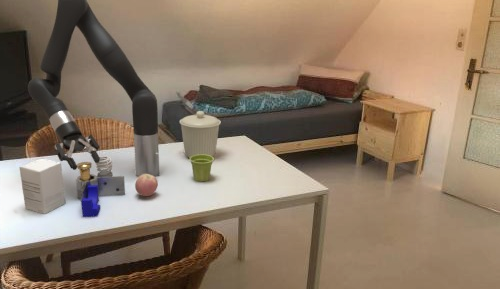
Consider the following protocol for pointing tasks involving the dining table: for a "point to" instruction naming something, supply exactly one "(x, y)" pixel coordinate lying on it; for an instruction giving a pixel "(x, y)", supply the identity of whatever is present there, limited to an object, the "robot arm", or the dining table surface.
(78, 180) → the hinge leaf upper
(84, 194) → the hinge leaf lower
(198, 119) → the canister
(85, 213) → the cable clip
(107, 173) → the light bulb
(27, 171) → the supplement box
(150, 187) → the apple
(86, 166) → the hinge pin
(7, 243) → the dining table surface
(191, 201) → the dining table surface
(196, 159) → the plant pot
